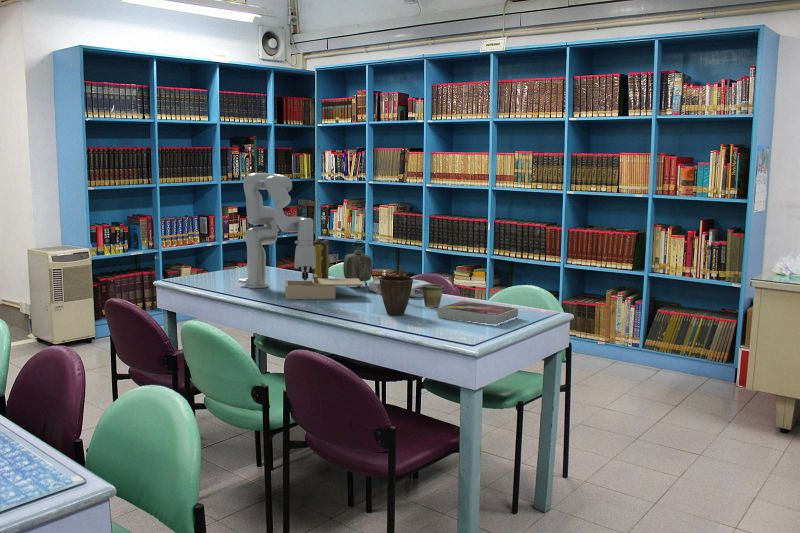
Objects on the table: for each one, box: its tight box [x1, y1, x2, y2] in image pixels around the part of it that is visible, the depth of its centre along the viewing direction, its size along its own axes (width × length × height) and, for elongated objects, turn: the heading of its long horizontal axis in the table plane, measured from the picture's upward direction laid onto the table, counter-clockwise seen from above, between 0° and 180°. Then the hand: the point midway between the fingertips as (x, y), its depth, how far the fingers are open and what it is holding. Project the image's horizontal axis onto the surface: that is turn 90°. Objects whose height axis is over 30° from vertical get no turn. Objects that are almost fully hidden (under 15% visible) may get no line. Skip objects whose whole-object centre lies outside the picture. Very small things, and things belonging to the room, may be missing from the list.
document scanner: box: [368, 278, 431, 298], centre depth 370 cm, size 21×28×6 cm
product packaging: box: [437, 300, 519, 324], centre depth 311 cm, size 22×28×5 cm
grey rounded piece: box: [342, 240, 373, 289], centre depth 383 cm, size 14×9×25 cm, turn 108°
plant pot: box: [378, 275, 414, 316], centre depth 314 cm, size 15×15×16 cm
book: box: [312, 238, 331, 279], centre depth 382 cm, size 22×8×25 cm, turn 179°
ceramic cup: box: [421, 283, 444, 309], centre depth 335 cm, size 13×10×10 cm
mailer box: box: [284, 279, 336, 301], centre depth 353 cm, size 24×18×7 cm
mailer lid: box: [311, 273, 363, 287], centre depth 354 cm, size 24×18×4 cm
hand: (305, 280), depth 352 cm, fingers closed
